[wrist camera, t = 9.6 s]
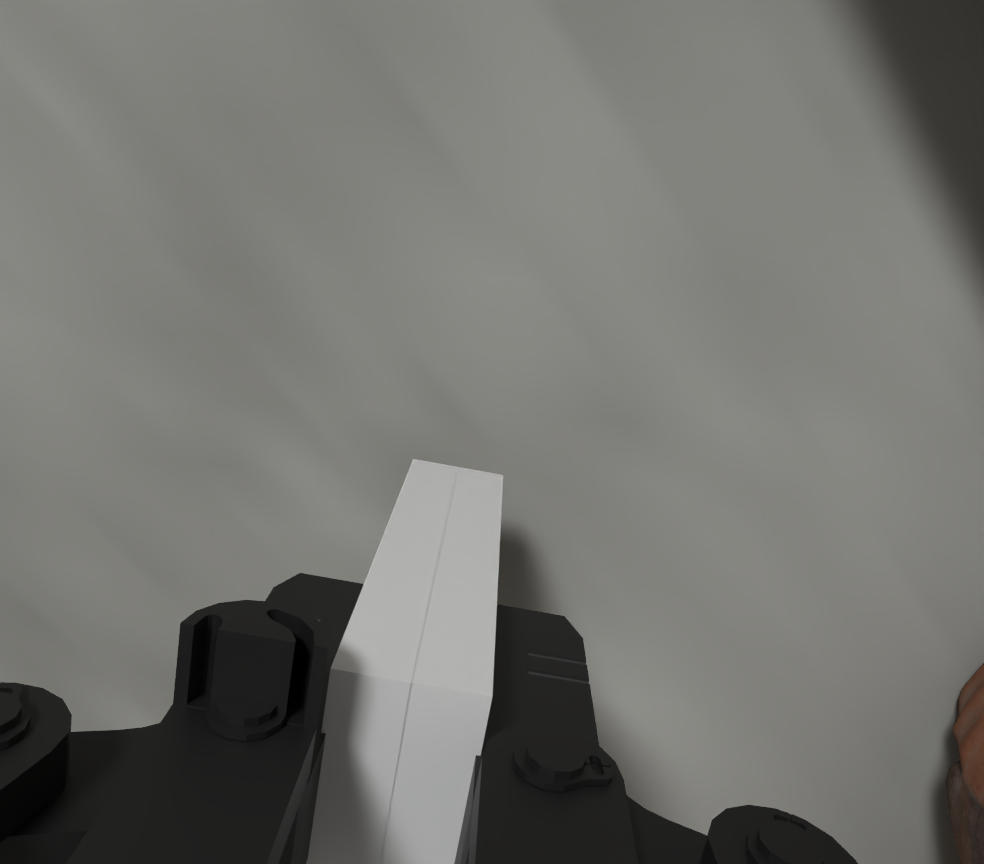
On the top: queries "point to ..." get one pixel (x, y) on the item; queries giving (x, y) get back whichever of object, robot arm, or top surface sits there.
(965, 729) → the broken pottery fragment
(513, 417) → the top surface
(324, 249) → the top surface
